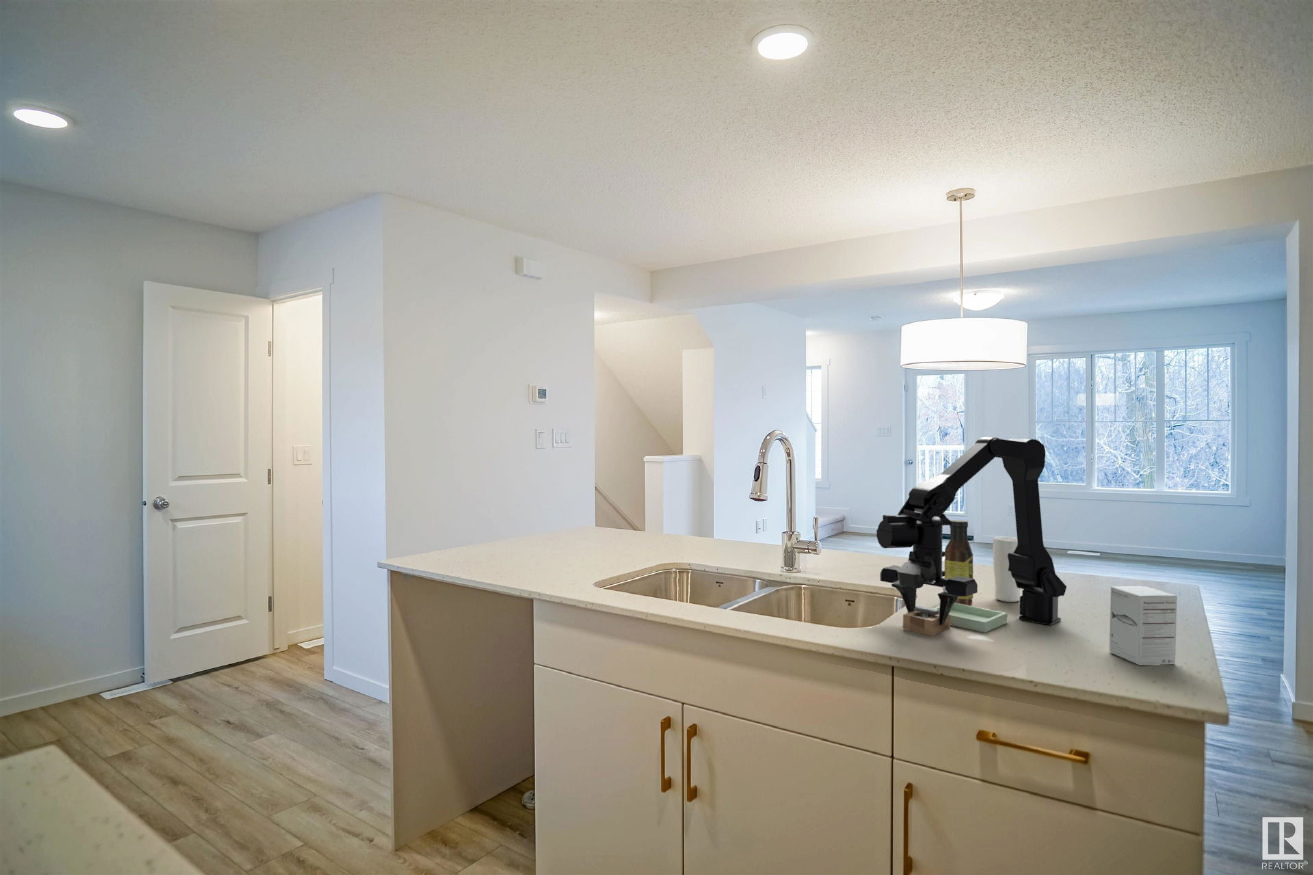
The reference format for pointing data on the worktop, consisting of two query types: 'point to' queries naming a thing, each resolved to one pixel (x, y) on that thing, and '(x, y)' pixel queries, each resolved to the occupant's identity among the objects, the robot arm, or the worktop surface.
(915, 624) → the collar
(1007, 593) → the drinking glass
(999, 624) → the tray
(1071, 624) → the worktop surface
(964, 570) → the sauce bottle
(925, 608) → the grey t-shaped knob
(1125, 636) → the supplement box
